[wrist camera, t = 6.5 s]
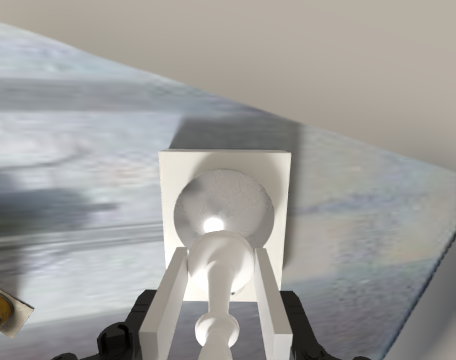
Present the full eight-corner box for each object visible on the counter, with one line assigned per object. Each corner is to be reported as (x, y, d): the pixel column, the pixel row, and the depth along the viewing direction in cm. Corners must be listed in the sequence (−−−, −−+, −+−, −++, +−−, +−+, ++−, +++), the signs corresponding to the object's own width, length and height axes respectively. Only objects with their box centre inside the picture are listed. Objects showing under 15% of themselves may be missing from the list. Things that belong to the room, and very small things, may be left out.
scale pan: (175, 166, 23) (170, 169, 22) (274, 167, 23) (277, 170, 22) (179, 254, 26) (175, 263, 24) (268, 255, 26) (271, 264, 24)
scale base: (168, 148, 28) (156, 152, 23) (282, 149, 28) (293, 153, 23) (175, 279, 32) (166, 305, 28) (273, 281, 32) (280, 306, 27)
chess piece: (204, 296, 16) (168, 543, 7) (176, 243, 15) (85, 444, 6) (263, 275, 16) (319, 508, 6) (240, 219, 15) (261, 393, 5)
